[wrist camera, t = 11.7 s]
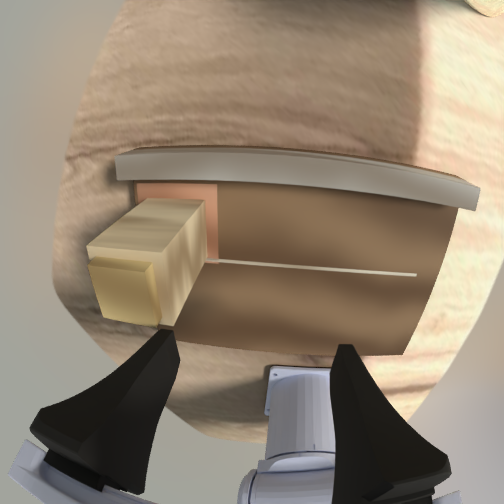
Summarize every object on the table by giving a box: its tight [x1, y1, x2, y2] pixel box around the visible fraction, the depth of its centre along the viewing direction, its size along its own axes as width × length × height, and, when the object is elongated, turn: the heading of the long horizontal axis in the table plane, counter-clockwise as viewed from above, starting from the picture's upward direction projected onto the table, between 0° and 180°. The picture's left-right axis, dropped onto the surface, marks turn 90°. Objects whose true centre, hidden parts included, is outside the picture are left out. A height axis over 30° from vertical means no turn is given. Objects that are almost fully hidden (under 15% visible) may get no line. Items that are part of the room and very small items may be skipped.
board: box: [115, 145, 480, 356], centre depth 19 cm, size 16×22×3 cm
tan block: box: [86, 198, 208, 328], centre depth 15 cm, size 4×4×8 cm
